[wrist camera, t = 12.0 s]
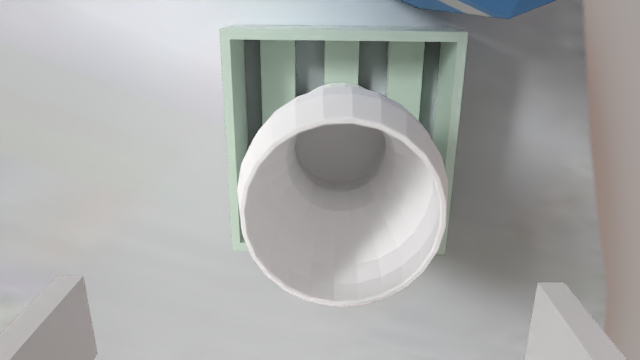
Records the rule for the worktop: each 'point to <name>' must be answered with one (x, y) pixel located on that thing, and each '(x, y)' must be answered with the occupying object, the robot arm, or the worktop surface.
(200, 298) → the worktop surface
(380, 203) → the cup
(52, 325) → the robot arm
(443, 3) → the water bottle
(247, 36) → the dish rack
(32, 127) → the worktop surface
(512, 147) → the worktop surface
